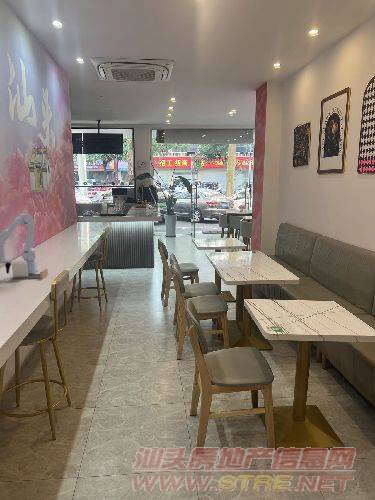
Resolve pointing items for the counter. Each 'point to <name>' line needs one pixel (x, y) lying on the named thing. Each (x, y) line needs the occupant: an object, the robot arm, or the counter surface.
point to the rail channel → (34, 275)
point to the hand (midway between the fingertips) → (2, 273)
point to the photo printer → (19, 269)
